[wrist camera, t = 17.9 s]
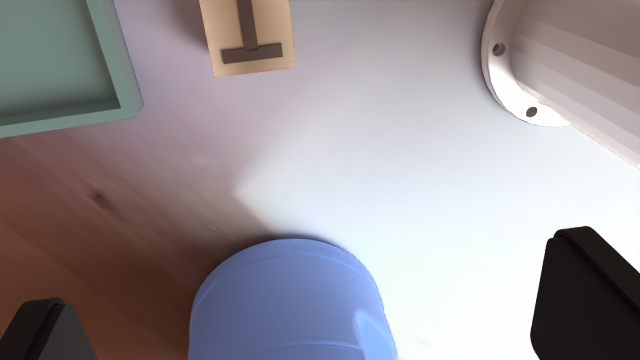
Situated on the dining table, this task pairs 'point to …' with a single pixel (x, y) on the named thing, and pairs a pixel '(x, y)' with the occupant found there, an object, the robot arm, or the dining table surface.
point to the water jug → (290, 307)
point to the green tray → (63, 66)
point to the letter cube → (248, 35)
